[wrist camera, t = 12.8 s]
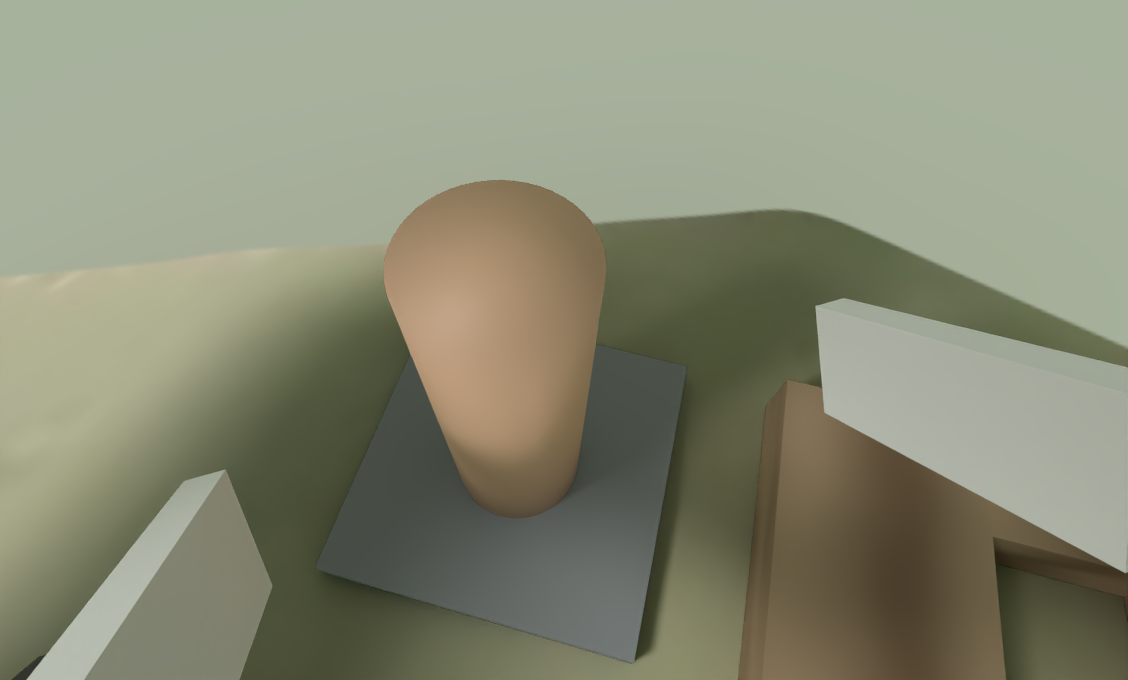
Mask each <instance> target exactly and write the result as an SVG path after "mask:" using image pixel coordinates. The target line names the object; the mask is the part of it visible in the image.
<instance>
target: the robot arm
mask: <svg viewBox="0 0 1128 680" xmlns="http://www.w3.org/2000/svg"><path fill="white" fill-rule="evenodd" d="M815 307H816V319H817V331H818V343H819V355H820V367H821V378H822V390H823V402H824V413H826V414H828V415H830V416H831V417H833V418H835V419H837V420H839V421H841V422H843V423H845V424H846V425H848V426H850V427H852V428H854V429H856V430H858V431H860V432H861V433H863V434H865V435H867V436H869V437H871V438H873V439H875V440H876V441H878V442H880V443H882V444H884V445H886V446H888V447H890V448H891V449H893V450H895V451H897V452H899V453H901V454H903V455H905V456H906V457H908V458H910V459H912V460H914V461H916V462H918V463H920V464H922V465H923V466H925V467H927V468H929V469H931V470H933V471H935V472H937V473H938V474H940V475H942V476H944V477H946V478H948V479H950V480H952V481H953V482H955V483H957V484H959V485H961V486H963V487H965V488H967V489H968V490H970V491H972V492H974V493H976V494H978V495H980V496H982V497H983V498H985V499H987V500H989V501H991V502H993V503H995V504H997V505H998V506H1000V507H1002V508H1004V509H1006V510H1008V511H1010V512H1012V513H1013V514H1015V515H1017V516H1019V517H1021V518H1023V519H1025V520H1027V521H1028V522H1030V523H1032V524H1034V525H1036V526H1038V527H1040V528H1042V529H1043V530H1045V531H1047V532H1049V533H1051V534H1053V535H1055V536H1057V537H1058V538H1060V539H1062V540H1064V541H1066V542H1068V543H1070V544H1072V545H1073V546H1075V547H1077V548H1079V549H1081V550H1083V551H1085V552H1087V553H1088V554H1090V555H1092V556H1094V557H1096V558H1098V559H1100V560H1102V561H1103V562H1105V563H1107V564H1109V565H1111V566H1113V567H1115V568H1117V569H1118V570H1120V571H1122V572H1124V573H1127V572H1128V367H1124V366H1120V365H1116V364H1112V363H1108V362H1104V361H1100V360H1095V359H1091V358H1087V357H1083V356H1079V355H1075V354H1071V353H1067V352H1063V351H1059V350H1054V349H1050V348H1046V347H1042V346H1038V345H1034V344H1030V343H1026V342H1022V341H1018V340H1013V339H1009V338H1005V337H1001V336H997V335H993V334H989V333H985V332H981V331H977V330H972V329H968V328H964V327H960V326H956V325H952V324H948V323H944V322H940V321H936V320H931V319H927V318H923V317H919V316H915V315H911V314H907V313H903V312H899V311H895V310H890V309H886V308H882V307H878V306H874V305H870V304H866V303H862V302H858V301H854V300H849V299H845V298H843V299H839V300H835V301H832V302H828V303H824V304H821V305H817V306H815ZM272 587H273V585H272V583H271V580H270V578H269V575H268V573H267V570H266V568H265V566H264V563H263V561H262V558H261V556H260V553H259V551H258V548H257V546H256V543H255V541H254V538H253V536H252V533H251V531H250V528H249V526H248V523H247V521H246V518H245V516H244V513H243V511H242V509H241V506H240V504H239V501H238V499H237V496H236V494H235V491H234V489H233V486H232V484H231V481H230V479H229V476H228V474H227V471H226V469H225V470H221V471H218V472H214V473H211V474H207V475H203V476H200V477H196V478H193V479H189V480H185V481H183V483H182V484H181V485H180V486H179V488H178V489H177V490H176V492H175V493H174V494H173V495H172V497H171V498H170V499H169V500H168V502H167V503H166V504H165V505H164V507H163V508H162V509H161V510H160V512H159V513H158V514H157V516H156V517H155V518H154V519H153V521H152V522H151V523H150V524H149V526H148V527H147V528H146V529H145V531H144V532H143V533H142V534H141V536H140V537H139V538H138V540H137V541H136V542H135V543H134V545H133V546H132V547H131V548H130V550H129V551H128V552H127V553H126V555H125V556H124V557H123V558H122V560H121V561H120V562H119V564H118V565H117V566H116V567H115V569H114V570H113V571H112V572H111V574H110V575H109V576H108V577H107V579H106V580H105V581H104V582H103V584H102V585H101V586H100V588H99V589H98V590H97V591H96V593H95V594H94V595H93V596H92V598H91V599H90V600H89V601H88V603H87V604H86V605H85V606H84V608H83V609H82V610H81V612H80V613H79V614H78V615H77V617H76V618H75V619H74V620H73V622H72V623H71V624H70V625H69V627H68V628H67V629H66V630H65V632H64V633H63V634H62V636H61V637H60V638H59V639H58V641H57V642H56V643H55V644H54V646H53V647H52V648H51V649H50V651H49V652H48V653H47V654H46V655H43V656H40V657H38V658H37V659H36V660H34V661H33V662H32V663H31V664H30V665H28V666H27V667H26V668H25V669H24V670H22V671H21V672H20V673H19V674H18V675H17V676H15V677H14V678H13V679H12V680H240V677H241V674H242V671H243V669H244V666H245V663H246V660H247V657H248V654H249V652H250V649H251V646H252V643H253V640H254V638H255V635H256V632H257V629H258V626H259V623H260V621H261V618H262V615H263V612H264V609H265V606H266V604H267V601H268V598H269V595H270V592H271V589H272Z"/></svg>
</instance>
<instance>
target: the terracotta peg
mask: <svg viewBox="0 0 1128 680" xmlns="http://www.w3.org/2000/svg"><path fill="white" fill-rule="evenodd" d="M606 265H607V263H606V255H605V250H604V246H603V243H602V240H601V238H600V236H599V234H598V232H597V230H596V228H595V227H594V225H593V224H592V222H591V221H590V220H589V219H588V217H587V216H586V215H585V214H584V213H583V212H582V211H581V210H580V209H579V208H578V207H577V206H575V205H574V204H573V203H572V202H570V201H569V200H567V199H566V198H564V197H562V196H560V195H558V194H557V193H555V192H553V191H550V190H548V189H545V188H543V187H540V186H536V185H533V184H529V183H524V182H517V181H506V180H490V181H481V182H474V183H469V184H465V185H461V186H458V187H455V188H452V189H449V190H447V191H445V192H442V193H440V194H438V195H436V196H434V197H433V198H431V199H429V200H427V201H426V202H424V203H423V204H422V205H421V206H419V207H418V208H416V209H415V210H414V211H413V212H412V213H411V214H410V215H409V216H408V217H407V218H406V219H405V220H404V221H403V223H402V224H401V225H400V226H399V228H398V229H397V231H396V233H395V234H394V236H393V237H392V239H391V242H390V244H389V246H388V249H387V252H386V256H385V260H384V270H383V274H384V285H385V289H386V294H387V297H388V299H389V302H390V304H391V307H392V309H393V312H394V314H395V317H396V319H397V322H398V324H399V326H400V329H401V331H402V334H403V336H404V339H405V341H406V344H407V346H408V349H409V351H410V354H411V356H412V358H413V361H414V363H415V366H416V368H417V371H418V373H419V376H420V378H421V381H422V383H423V386H424V388H425V390H426V393H427V395H428V398H429V400H430V403H431V405H432V408H433V410H434V413H435V415H436V418H437V420H438V422H439V425H440V427H441V430H442V432H443V435H444V437H445V440H446V442H447V445H448V447H449V450H450V452H451V454H452V457H453V459H454V462H455V464H456V467H457V469H458V472H459V474H460V477H461V479H462V481H463V484H464V486H465V488H466V490H467V492H468V493H469V495H470V496H471V497H472V498H473V500H474V501H475V502H476V503H477V504H478V505H480V506H481V507H482V508H484V509H485V510H487V511H489V512H491V513H493V514H495V515H498V516H501V517H506V518H516V519H517V518H527V517H533V516H536V515H539V514H541V513H543V512H545V511H547V510H549V509H550V508H552V507H553V506H555V505H556V504H557V503H558V502H559V501H561V499H562V498H563V497H564V496H565V495H566V494H567V492H568V491H569V489H570V487H571V485H572V483H573V481H574V478H575V475H576V472H577V466H578V460H579V453H580V446H581V440H582V433H583V426H584V420H585V413H586V406H587V399H588V393H589V386H590V379H591V373H592V366H593V359H594V353H595V346H596V339H597V333H598V326H599V319H600V313H601V306H602V299H603V293H604V286H605V279H606Z"/></svg>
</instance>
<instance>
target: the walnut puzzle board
mask: <svg viewBox="0 0 1128 680" xmlns="http://www.w3.org/2000/svg"><path fill="white" fill-rule="evenodd" d="M995 564H999V565H1003V566H1007V567H1011V568H1014V569H1018V570H1022V571H1026V572H1030V573H1033V574H1037V575H1041V576H1045V577H1049V578H1053V579H1056V580H1060V581H1064V582H1068V583H1072V584H1075V585H1079V586H1083V587H1087V588H1091V589H1095V590H1098V591H1102V592H1106V593H1110V594H1114V595H1117V596H1121V597H1123V598H1124V603H1125V609H1126V614H1127V619H1128V572H1127V573H1124V572H1122V571H1120V570H1118V569H1117V568H1115V567H1113V566H1111V565H1109V564H1107V563H1105V562H1103V561H1102V560H1100V559H1098V558H1096V557H1094V556H1092V555H1090V554H1088V553H1087V552H1085V551H1083V550H1081V549H1079V548H1077V547H1075V546H1073V545H1072V544H1070V543H1068V542H1066V541H1064V540H1062V539H1060V538H1058V537H1057V536H1055V535H1053V534H1051V533H1049V532H1047V531H1045V530H1043V529H1042V528H1040V527H1038V526H1036V525H1034V524H1032V523H1030V522H1028V521H1027V520H1025V519H1023V518H1021V517H1019V516H1017V515H1015V514H1013V513H1012V512H1010V511H1008V510H1006V509H1004V508H1002V507H1000V506H998V505H997V504H995V503H993V502H991V501H989V500H987V499H985V498H983V497H982V496H980V495H978V494H976V493H974V492H972V491H970V490H968V489H967V488H965V487H963V486H961V485H959V484H957V483H955V482H953V481H952V480H950V479H948V478H946V477H944V476H942V475H940V474H938V473H937V472H935V471H933V470H931V469H929V468H927V467H925V466H923V465H922V464H920V463H918V462H916V461H914V460H912V459H910V458H908V457H906V456H905V455H903V454H901V453H899V452H897V451H895V450H893V449H891V448H890V447H888V446H886V445H884V444H882V443H880V442H878V441H876V440H875V439H873V438H871V437H869V436H867V435H865V434H863V433H861V432H860V431H858V430H856V429H854V428H852V427H850V426H848V425H846V424H845V423H843V422H841V421H839V420H837V419H835V418H833V417H831V416H830V415H828V414H826V413H824V402H823V390H822V388H821V387H817V386H813V385H808V384H804V383H800V382H796V381H792V380H788V379H787V381H786V382H785V383H784V384H783V386H782V387H781V388H780V389H779V391H778V392H777V393H776V394H775V396H774V397H773V398H772V399H771V401H770V402H769V403H768V404H767V406H766V411H765V421H764V431H763V441H762V451H761V460H760V470H759V480H758V490H757V500H756V509H755V519H754V529H753V539H752V549H751V558H750V568H749V578H748V588H747V598H746V607H745V617H744V627H743V637H742V647H741V656H740V666H739V676H738V680H1006V673H1005V662H1004V651H1003V641H1002V630H1001V619H1000V608H999V598H998V587H997V576H996V566H995Z"/></svg>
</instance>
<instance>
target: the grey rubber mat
mask: <svg viewBox="0 0 1128 680" xmlns="http://www.w3.org/2000/svg"><path fill="white" fill-rule="evenodd" d="M686 371H687V366H684V365H679V364H675V363H671V362H667V361H663V360H659V359H655V358H650V357H646V356H642V355H638V354H634V353H630V352H626V351H621V350H617V349H613V348H609V347H605V346H601V345H597V344H596V346H595V353H594V359H593V366H592V373H591V379H590V386H589V393H588V399H587V406H586V413H585V420H584V426H583V433H582V440H581V446H580V453H579V460H578V466H577V472H576V475H575V478H574V481H573V483H572V485H571V487H570V489H569V491H568V492H567V494H566V495H565V496H564V497H563V498H562V499H561V501H559V502H558V503H557V504H556V505H555V506H553V507H552V508H550V509H549V510H547V511H545V512H543V513H541V514H539V515H536V516H533V517H527V518H517V519H516V518H506V517H501V516H498V515H495V514H493V513H491V512H489V511H487V510H485V509H484V508H482V507H481V506H480V505H478V504H477V503H476V502H475V501H474V500H473V498H472V497H471V496H470V495H469V493H468V492H467V490H466V488H465V486H464V484H463V481H462V479H461V477H460V474H459V472H458V469H457V467H456V464H455V462H454V459H453V457H452V454H451V452H450V450H449V447H448V445H447V442H446V440H445V437H444V435H443V432H442V430H441V427H440V425H439V422H438V420H437V418H436V415H435V413H434V410H433V408H432V405H431V403H430V400H429V398H428V395H427V393H426V390H425V388H424V386H423V383H422V381H421V378H420V376H419V373H418V371H417V368H416V366H415V363H414V361H413V358H412V356H411V354H410V356H409V358H408V360H407V362H406V365H405V367H404V369H403V371H402V374H401V376H400V378H399V380H398V383H397V385H396V387H395V389H394V391H393V394H392V396H391V398H390V400H389V403H388V405H387V407H386V409H385V412H384V414H383V416H382V418H381V421H380V423H379V425H378V427H377V429H376V432H375V434H374V436H373V438H372V441H371V443H370V445H369V447H368V450H367V452H366V454H365V456H364V459H363V461H362V463H361V465H360V467H359V470H358V472H357V474H356V476H355V479H354V481H353V483H352V485H351V488H350V490H349V492H348V494H347V497H346V499H345V501H344V503H343V506H342V508H341V510H340V512H339V514H338V517H337V519H336V521H335V523H334V526H333V528H332V530H331V532H330V535H329V537H328V539H327V541H326V544H325V546H324V548H323V550H322V552H321V555H320V557H319V559H318V561H317V564H316V566H315V569H317V570H319V571H321V572H323V573H327V574H330V575H333V576H337V577H340V578H344V579H347V580H350V581H354V582H357V583H360V584H364V585H367V586H371V587H374V588H377V589H381V590H384V591H387V592H391V593H394V594H398V595H401V596H404V597H408V598H411V599H414V600H418V601H421V602H425V603H428V604H431V605H435V606H438V607H441V608H445V609H448V610H452V611H455V612H458V613H462V614H465V615H468V616H472V617H475V618H479V619H482V620H485V621H489V622H492V623H495V624H499V625H502V626H506V627H509V628H512V629H516V630H519V631H523V632H526V633H529V634H533V635H536V636H539V637H543V638H546V639H550V640H553V641H556V642H560V643H563V644H566V645H570V646H573V647H577V648H580V649H583V650H587V651H590V652H593V653H597V654H600V655H604V656H607V657H610V658H614V659H617V660H620V661H624V662H627V663H634V660H635V654H636V649H637V643H638V638H639V632H640V627H641V621H642V615H643V610H644V604H645V599H646V593H647V588H648V582H649V577H650V571H651V565H652V560H653V554H654V549H655V543H656V538H657V532H658V527H659V521H660V516H661V510H662V504H663V499H664V493H665V488H666V482H667V477H668V471H669V466H670V460H671V454H672V449H673V443H674V438H675V432H676V427H677V421H678V416H679V410H680V404H681V399H682V393H683V388H684V382H685V377H686Z"/></svg>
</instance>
